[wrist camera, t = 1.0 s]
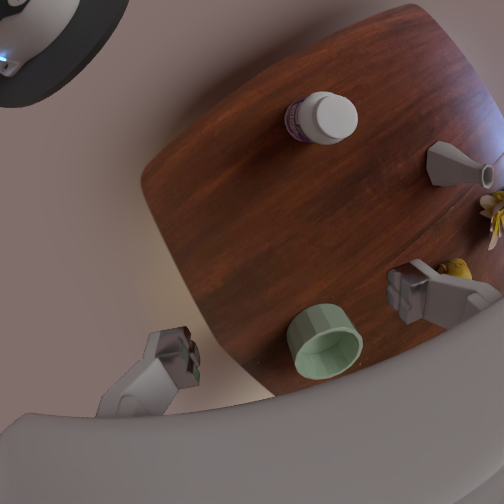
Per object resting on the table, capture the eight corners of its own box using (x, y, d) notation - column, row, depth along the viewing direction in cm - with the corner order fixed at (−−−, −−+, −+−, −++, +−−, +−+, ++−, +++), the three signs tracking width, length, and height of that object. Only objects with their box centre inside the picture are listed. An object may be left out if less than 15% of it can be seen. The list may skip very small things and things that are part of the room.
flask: (451, 137, 31) (499, 145, 22) (457, 181, 34) (501, 196, 25) (421, 144, 32) (470, 153, 23) (428, 191, 35) (474, 210, 26)
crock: (274, 346, 42) (282, 373, 37) (308, 295, 39) (321, 319, 33) (325, 358, 45) (336, 383, 39) (359, 313, 42) (375, 336, 36)
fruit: (437, 290, 35) (455, 317, 38) (470, 262, 32) (484, 293, 35) (421, 264, 41) (441, 292, 44) (450, 238, 37) (467, 270, 41)
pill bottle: (275, 108, 29) (298, 96, 20) (316, 93, 28) (351, 80, 20) (294, 149, 31) (322, 154, 22) (333, 134, 30) (372, 135, 22)
